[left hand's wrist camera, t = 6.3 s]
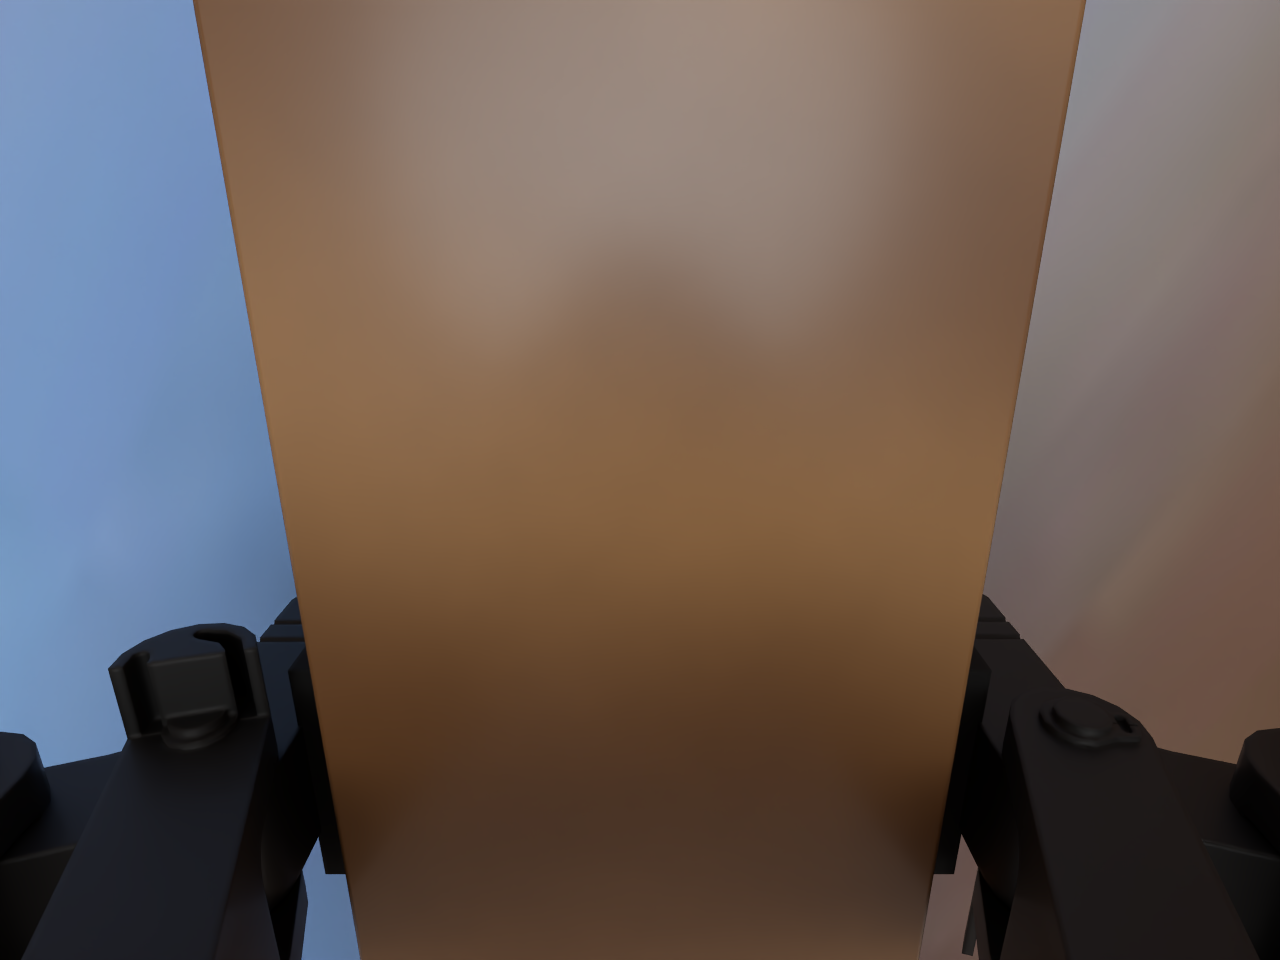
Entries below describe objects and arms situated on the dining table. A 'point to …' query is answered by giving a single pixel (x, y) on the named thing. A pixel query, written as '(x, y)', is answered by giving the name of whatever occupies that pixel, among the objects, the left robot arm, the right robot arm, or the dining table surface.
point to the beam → (639, 443)
